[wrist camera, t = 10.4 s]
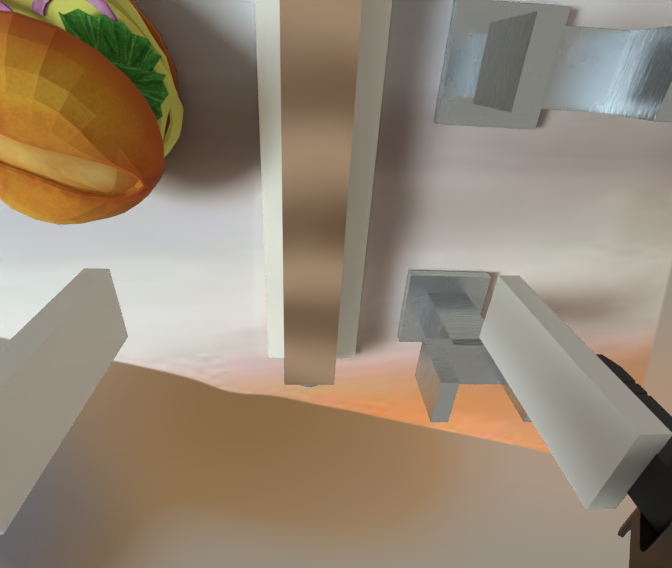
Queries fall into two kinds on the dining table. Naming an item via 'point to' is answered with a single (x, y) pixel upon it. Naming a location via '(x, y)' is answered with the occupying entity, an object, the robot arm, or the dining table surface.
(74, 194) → the cheeseburger
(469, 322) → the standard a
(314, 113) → the rail
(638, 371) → the dining table surface
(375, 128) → the white plank
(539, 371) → the robot arm
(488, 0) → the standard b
